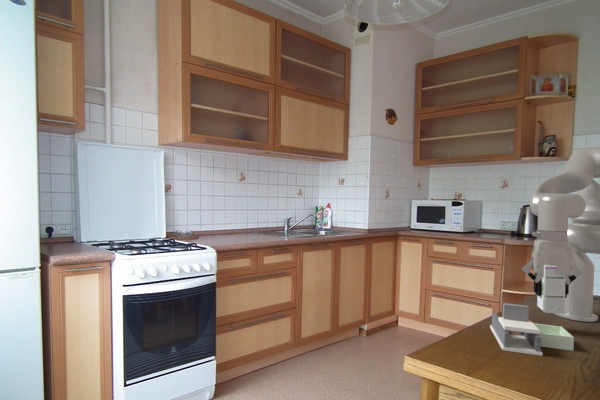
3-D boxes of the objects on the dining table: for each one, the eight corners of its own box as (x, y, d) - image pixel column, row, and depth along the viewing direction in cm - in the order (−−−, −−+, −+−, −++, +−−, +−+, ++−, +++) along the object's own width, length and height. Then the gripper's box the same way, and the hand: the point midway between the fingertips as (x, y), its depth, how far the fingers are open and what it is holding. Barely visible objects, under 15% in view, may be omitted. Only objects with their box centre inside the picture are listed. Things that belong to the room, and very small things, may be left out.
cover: (498, 320, 107) (499, 302, 107) (530, 324, 105) (531, 306, 104) (504, 329, 99) (505, 310, 99) (539, 334, 97) (540, 314, 97)
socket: (526, 334, 111) (526, 322, 111) (561, 338, 108) (561, 326, 108) (535, 345, 102) (535, 332, 102) (573, 350, 100) (574, 337, 100)
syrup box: (565, 314, 111) (567, 265, 111) (543, 312, 113) (544, 264, 112) (556, 307, 117) (558, 261, 116) (535, 306, 118) (536, 260, 117)
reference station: (490, 327, 116) (490, 312, 115) (523, 331, 113) (524, 316, 113) (502, 350, 98) (503, 332, 98) (542, 355, 96) (543, 337, 96)
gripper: (522, 237, 113) (521, 297, 113) (591, 239, 107) (589, 302, 108) (516, 233, 120) (515, 290, 121) (580, 235, 115) (579, 294, 115)
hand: (550, 295), depth 114 cm, fingers closed on syrup box, 6 cm apart
